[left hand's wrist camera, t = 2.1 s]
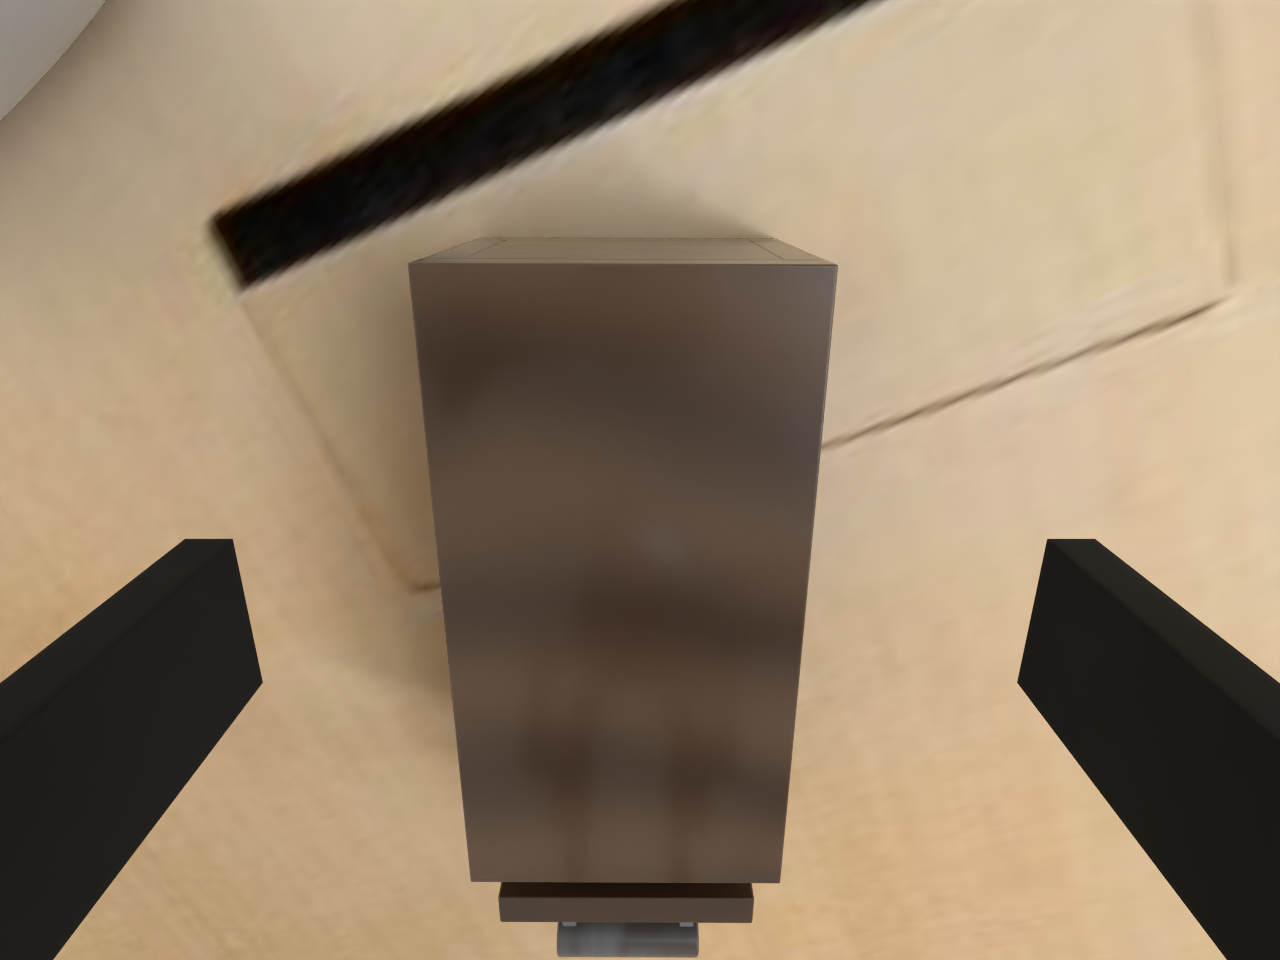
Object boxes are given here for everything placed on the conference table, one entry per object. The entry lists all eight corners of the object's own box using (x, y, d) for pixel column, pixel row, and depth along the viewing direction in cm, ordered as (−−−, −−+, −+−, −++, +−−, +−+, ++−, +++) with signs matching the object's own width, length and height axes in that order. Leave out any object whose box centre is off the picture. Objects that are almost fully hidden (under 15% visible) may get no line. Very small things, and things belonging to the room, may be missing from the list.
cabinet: (746, 714, 33) (780, 884, 25) (511, 713, 33) (470, 882, 25) (778, 238, 26) (838, 264, 18) (478, 237, 26) (407, 262, 18)
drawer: (726, 885, 35) (744, 1029, 29) (531, 884, 35) (509, 1028, 29) (757, 375, 27) (790, 432, 21) (499, 374, 27) (457, 430, 21)
